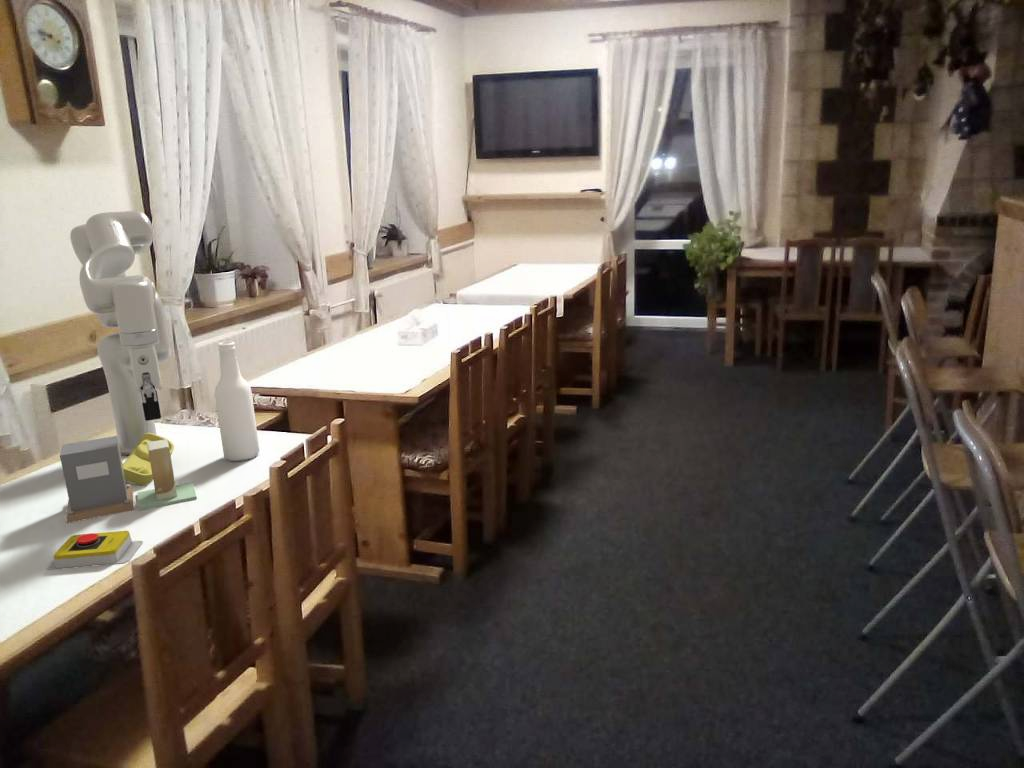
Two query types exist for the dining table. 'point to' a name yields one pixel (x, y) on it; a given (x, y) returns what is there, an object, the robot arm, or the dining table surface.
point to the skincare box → (162, 469)
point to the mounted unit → (95, 479)
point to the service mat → (150, 501)
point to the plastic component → (141, 461)
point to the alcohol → (235, 408)
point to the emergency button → (95, 550)
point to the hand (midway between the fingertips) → (152, 413)
